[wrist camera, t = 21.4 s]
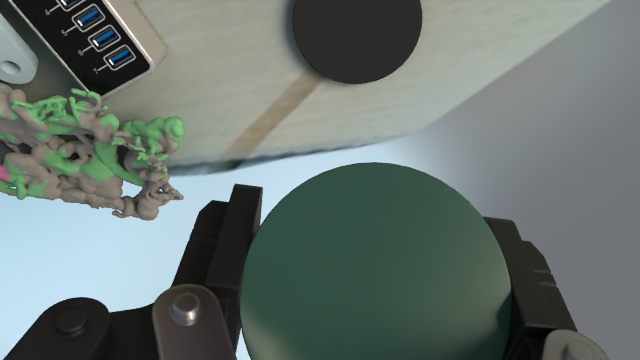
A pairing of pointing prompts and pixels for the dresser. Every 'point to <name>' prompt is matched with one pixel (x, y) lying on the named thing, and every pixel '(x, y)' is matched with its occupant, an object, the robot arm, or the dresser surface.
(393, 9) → the coaster
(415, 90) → the dresser surface
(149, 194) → the green tan irregular clump
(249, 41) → the dresser surface
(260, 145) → the dresser surface
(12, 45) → the mechanical part
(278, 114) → the dresser surface
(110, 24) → the multiport hub
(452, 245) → the lid
